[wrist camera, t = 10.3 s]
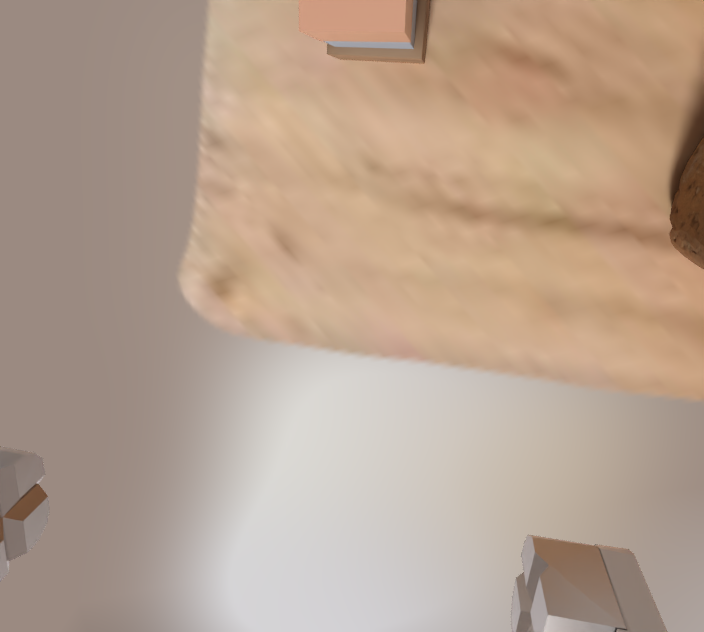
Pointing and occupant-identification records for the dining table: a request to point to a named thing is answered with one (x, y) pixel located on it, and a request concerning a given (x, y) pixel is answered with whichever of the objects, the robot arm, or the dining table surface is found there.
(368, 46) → the tower mid
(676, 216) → the brown oval lump
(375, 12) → the cube
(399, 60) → the tower base
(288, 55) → the dining table surface
